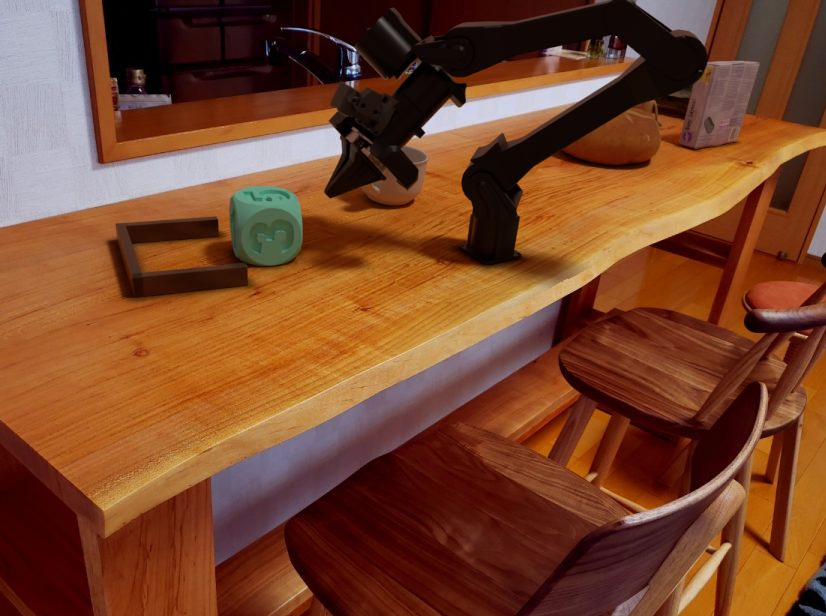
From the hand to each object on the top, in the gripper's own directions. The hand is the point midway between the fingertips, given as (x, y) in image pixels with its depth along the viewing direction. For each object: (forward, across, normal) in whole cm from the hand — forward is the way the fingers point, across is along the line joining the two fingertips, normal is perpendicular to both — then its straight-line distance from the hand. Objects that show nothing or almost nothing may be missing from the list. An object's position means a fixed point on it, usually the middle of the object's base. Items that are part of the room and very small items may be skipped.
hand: (326, 195), depth 98 cm
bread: (-46, -35, +57) cm, 82 cm away
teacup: (-6, -16, +17) cm, 24 cm away
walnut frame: (+19, 0, -8) cm, 20 cm away
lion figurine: (-64, -58, +75) cm, 115 cm away
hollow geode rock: (-80, -66, +91) cm, 138 cm away
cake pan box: (-70, -39, +80) cm, 113 cm away
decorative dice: (+11, 0, 0) cm, 11 cm away
